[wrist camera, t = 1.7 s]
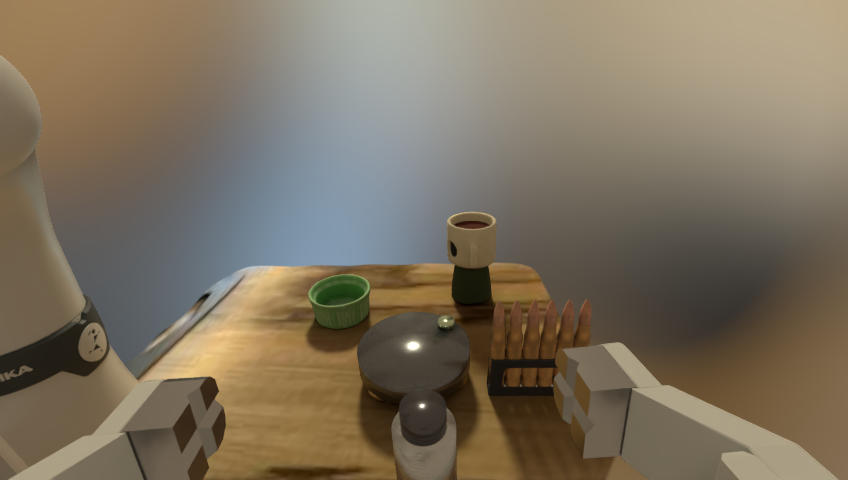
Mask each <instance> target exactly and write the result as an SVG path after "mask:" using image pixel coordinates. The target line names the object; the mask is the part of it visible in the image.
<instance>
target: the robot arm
mask: <svg viewBox="0 0 848 480" xmlns="http://www.w3.org/2000/svg"><path fill="white" fill-rule="evenodd" d="M41 128H42V117H41V110H40V107H39V104H38V101H37V98H36V96H35V94H34V92H33V90H32V89H31V87H30V85H29V84H28V82H27V81H26V80H25V78H24V77H23V76H22V75H21V74H20V72H19V71H18V70H17V69H15V67H14V66H13V65H12V64H10V63H9V62H8V61H7V60H6V59H5V58H3V57H2V56H1V55H0V480H203V478H204V476H205V474H206V473H207V471H208V469H209V466H208V462H207V458H209V457H210V456H211V455H212V454H214V453H215V452H216V451H217V450H218V448H219V446H220V444H221V442H222V440H223V436H224V431H225V426H226V423H225V413H224V409H223V406H222V405H220V404H219V403H218V402H217V401H216V400H214V399H215V397H216V395H217V393H218V392H219V390H218V387H217V384H216V381H215V379H213V378H212V377H195V378H178V379H167V380H164V379H163V380H150V381H144V382H141V383H140V382H139V381H138V380H137V379H136V378H135V377H134V376H133V375H132V374H131V373H130V372H129V370H128V369H127V368H126V367H125V365H124V364H123V363H122V362H121V360H120V359H119V358H118V356H117V355H116V353H115V352H114V351H113V349H112V348H111V346H110V345H109V342H108V337H107V334H106V330H105V327H104V324H103V322H102V320H101V318H100V316H99V314H98V312H97V310H96V308H95V306H94V305H93V303H92V301H91V299H90V298H89V297H88V296H86V295H85V294H82V292H81V290H80V288H79V285H78V283H77V281H76V279H75V277H74V275H73V273H72V271H71V268H70V267H69V264H68V262H67V260H66V258H65V256H64V253H63V251H62V249H61V247H60V245H59V243H58V241H57V238H56V236H55V233H54V231H53V227H52V224H51V221H50V217H49V213H48V209H47V204H46V199H45V194H44V188H43V183H42V178H41V173H40V167H39V163H38V158H37V153H36V146H37V143H38V141H39V138H40V135H41ZM555 364H556V366H557V367H558V369H559V371H560V372H559V373H558V374H557V375H556V377H555V378H554V386H553V391H554V398H555V403H556V406H557V409H558V412H559V414H560V416H561V418H562V419H563V420H564V421H566V422H567V423H569V424H570V425H571V430H570V435H571V437H572V439H573V441H574V443H575V444H576V446H577V448H578V450H579V452H580V454H581V456H582V458H598V457H613V456H621V458H622V459H623V460H624V461H625V462H627V463H628V464H629V465H631V466H632V467H633V468H634V469H636V470H637V471H639V472H640V473H641V474H642V475H643V476H644V477H646V478H647V479H648V480H838V479H837V478H836V477H835V476H834V475H832V474H831V473H830V472H829V471H828V470H827V469H825V468H824V467H823V466H822V465H821V464H819V462H817V461H816V460H815V459H814V458H813V457H812V456H810V455H809V454H808V453H807V452H806V451H805V450H803V449H802V448H801V447H800V446H799V445H797V444H795V443H793V442H791V441H789V440H787V439H785V438H782V437H780V436H778V435H776V434H774V433H772V432H769V431H767V430H765V429H763V428H760V427H759V426H756V425H754V424H752V423H750V422H748V421H745V420H743V419H741V418H739V417H737V416H735V415H732V414H730V413H728V412H726V411H724V410H722V409H719V408H717V407H715V406H713V405H711V404H708V403H706V402H704V401H702V400H700V399H698V398H695V397H693V396H691V395H689V394H686V393H685V392H682V391H680V390H678V389H676V388H674V387H671V386H669V385H668V386H662V385H661V384H660V383H659V382H658V381H657V380H656V379H655V378H654V376H653V375H652V374H651V373H650V372H649V371H648V370H647V369H646V368H645V367H644V366H643V365H642V364H641V363H640V361H639V360H638V359H637V358H636V357H635V356H634V355H633V354H632V353H631V352H630V351H629V350H628V349H627V348H626V347H625V346H624V345H623V344H621V343H619V342H618V343H609V344H600V345H596V346H585V347H574V348H562V349H558V350H557V353H556V358H555Z"/></svg>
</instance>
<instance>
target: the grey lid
mask: <svg viewBox="0 0 848 480" xmlns="http://www.w3.org/2000/svg"><path fill="white" fill-rule="evenodd" d="M357 356H358V363H359V370H360V376H361V379H362V381H363V383H364V385H365V386H366V387H367V389H368V393H369V395H370V396H371V397H372V398H373V399H375V400H378V401H380V402H387V401H388V402H390V403H394V404H400V402H401V400H402V399H403V397H404V396H405V395H407V394H408V393H410V392H412V391H414V390H418V389H429V390H433V391H435V392H437V393H439V394H440V395H441V396H442V397H443V398H445V397H447V396H448V395H450V394H452V393H453V392H454V391H456V390H458V389H459V388H461V387H463V386H464V385H465V383H466V381H467V375H468V372H469V368H470V342H469V339H468V336H467V334H466V333H465V331H464V330H463V329H462V328H461V327H460V326H459V325H458V324H457V323H455V322H454V319H453V317H451V316H440V315H437V314H433V313H425V312H411V313H403V314H398V315H395V316H391V317H389V318H386V319H384V320H382V321H380V322H378V323H376V324H375V325H374V326H372V327H371V328H370V329H369V330H368V331H367V332H366V333H365V334H364V335H363V337H362V338H361V340H360V342H359V345H358V349H357Z"/></svg>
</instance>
